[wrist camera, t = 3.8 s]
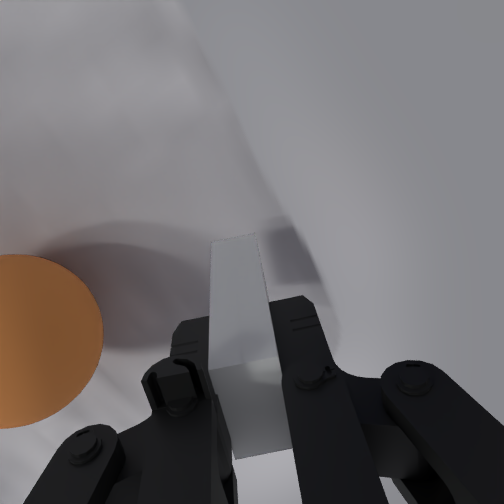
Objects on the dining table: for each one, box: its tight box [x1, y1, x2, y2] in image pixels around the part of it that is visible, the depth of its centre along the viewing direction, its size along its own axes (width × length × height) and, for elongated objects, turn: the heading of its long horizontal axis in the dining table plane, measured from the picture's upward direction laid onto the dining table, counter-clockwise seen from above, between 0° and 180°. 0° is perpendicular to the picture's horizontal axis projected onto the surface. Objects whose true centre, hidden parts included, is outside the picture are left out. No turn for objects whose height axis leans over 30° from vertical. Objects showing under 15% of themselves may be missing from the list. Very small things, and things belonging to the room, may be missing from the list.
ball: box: [0, 255, 103, 429], centre depth 15 cm, size 6×6×6 cm
